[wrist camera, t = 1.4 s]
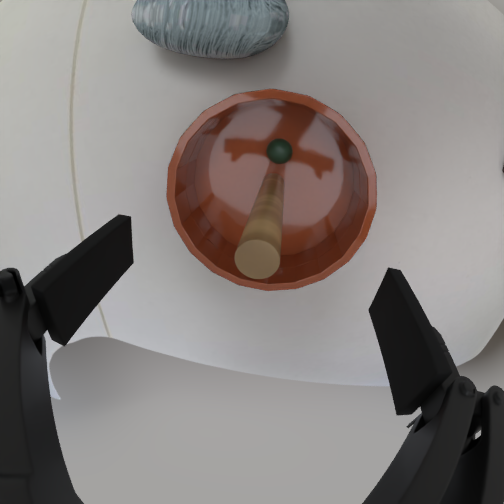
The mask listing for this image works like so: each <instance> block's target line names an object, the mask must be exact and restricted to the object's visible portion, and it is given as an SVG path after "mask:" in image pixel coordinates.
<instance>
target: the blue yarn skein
mask: <svg viewBox="0 0 504 504" xmlns="http://www.w3.org/2000/svg"><path fill="white" fill-rule="evenodd" d="M132 20H133V23H134V24H135V26H136V28H137V29H138V31H139V32H140V33H141V34H142V35H143V36H145V37H146V38H147V39H148V40H150V41H151V42H153V43H154V44H156V45H158V46H160V47H163V48H165V49H169V50H171V51H174V52H177V53H182V54H187V55H192V56H198V57H207V58H223V59H230V58H244V57H248V56H252V55H255V54H257V53H260V52H262V51H264V50H266V49H268V48H269V47H271V46H272V45H273V44H274V43H275V42H277V41H278V40H279V39H280V38H281V36H282V35H283V33H284V31H285V30H286V27H287V24H288V20H289V11H288V7H287V4H286V2H285V0H137V1H136V3H135V5H134V7H133V10H132Z"/></svg>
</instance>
